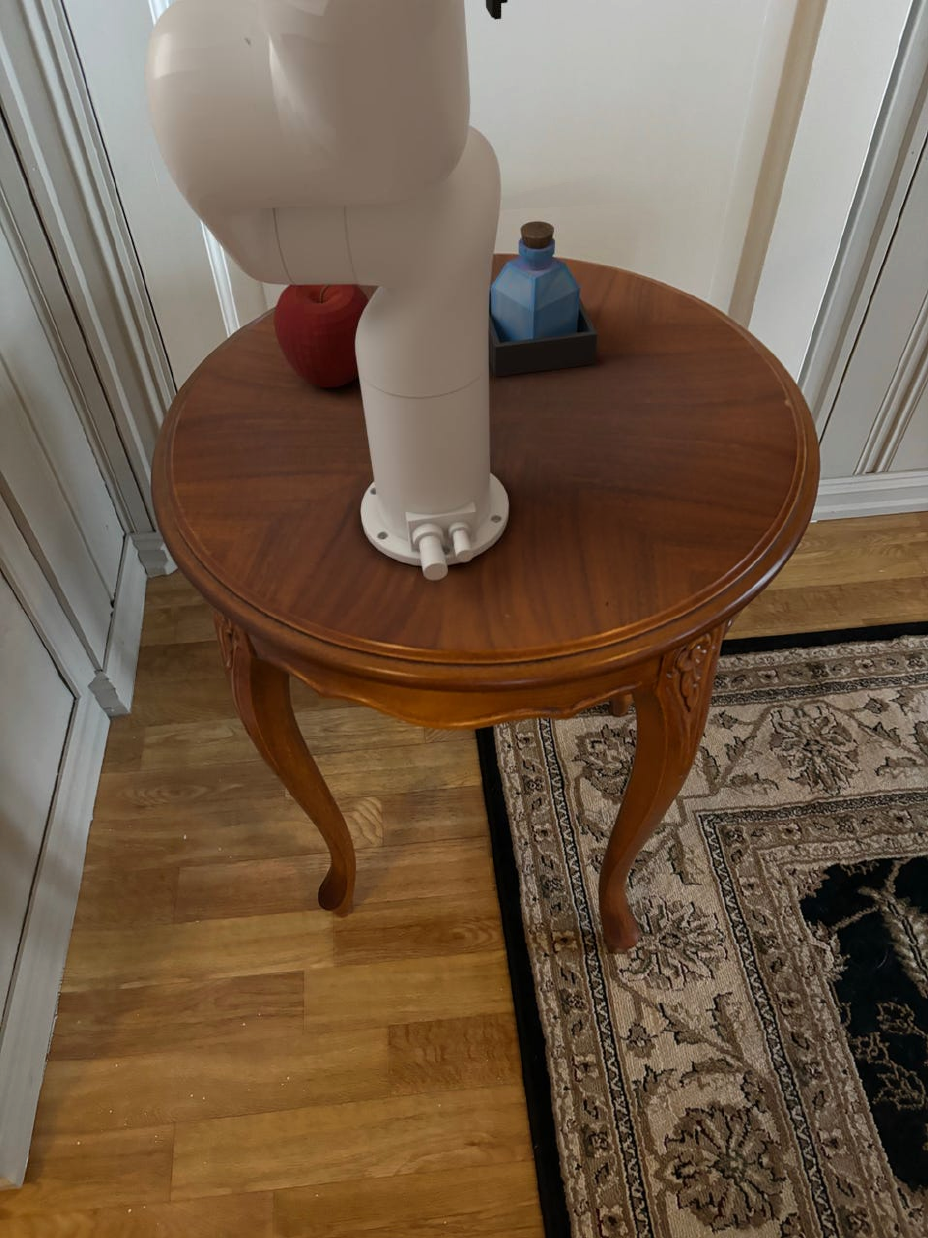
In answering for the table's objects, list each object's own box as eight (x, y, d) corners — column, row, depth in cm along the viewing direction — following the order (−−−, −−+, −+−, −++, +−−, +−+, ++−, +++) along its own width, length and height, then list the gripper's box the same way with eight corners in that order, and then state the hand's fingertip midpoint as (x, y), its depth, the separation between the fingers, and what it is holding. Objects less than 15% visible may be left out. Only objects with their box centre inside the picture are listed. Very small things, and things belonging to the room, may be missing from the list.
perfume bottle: (576, 342, 92) (584, 229, 83) (531, 366, 89) (535, 253, 80) (535, 318, 95) (539, 207, 86) (491, 340, 93) (490, 228, 83)
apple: (300, 415, 86) (280, 322, 78) (276, 362, 91) (255, 271, 84) (393, 390, 88) (382, 297, 80) (363, 340, 93) (351, 249, 86)
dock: (594, 364, 89) (597, 333, 87) (495, 377, 89) (495, 346, 86) (569, 309, 96) (571, 279, 93) (476, 321, 95) (475, 291, 92)
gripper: (294, -260, 56) (334, 46, 70) (560, -279, 58) (549, 24, 71) (289, -275, 61) (326, 14, 74) (534, -291, 63) (529, -5, 76)
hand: (435, 19), depth 73 cm, fingers open, 9 cm apart
